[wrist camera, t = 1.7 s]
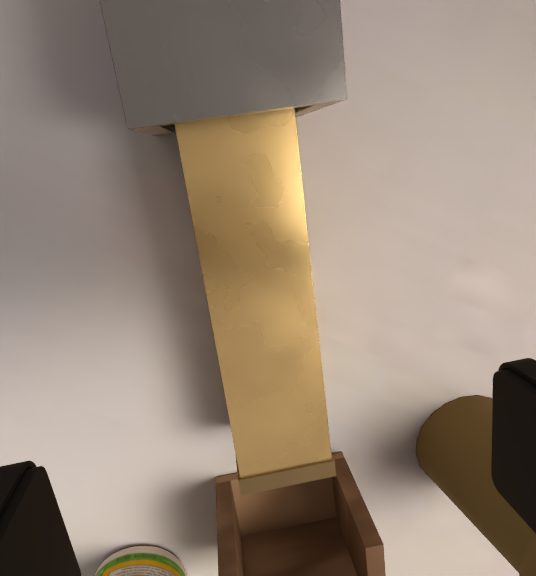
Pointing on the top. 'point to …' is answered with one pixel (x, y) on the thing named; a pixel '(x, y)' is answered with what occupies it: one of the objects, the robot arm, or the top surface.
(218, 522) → the walnut socket
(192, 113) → the steel sleeve
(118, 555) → the supplement bottle
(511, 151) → the top surface
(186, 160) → the long gold plank
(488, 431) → the cork
